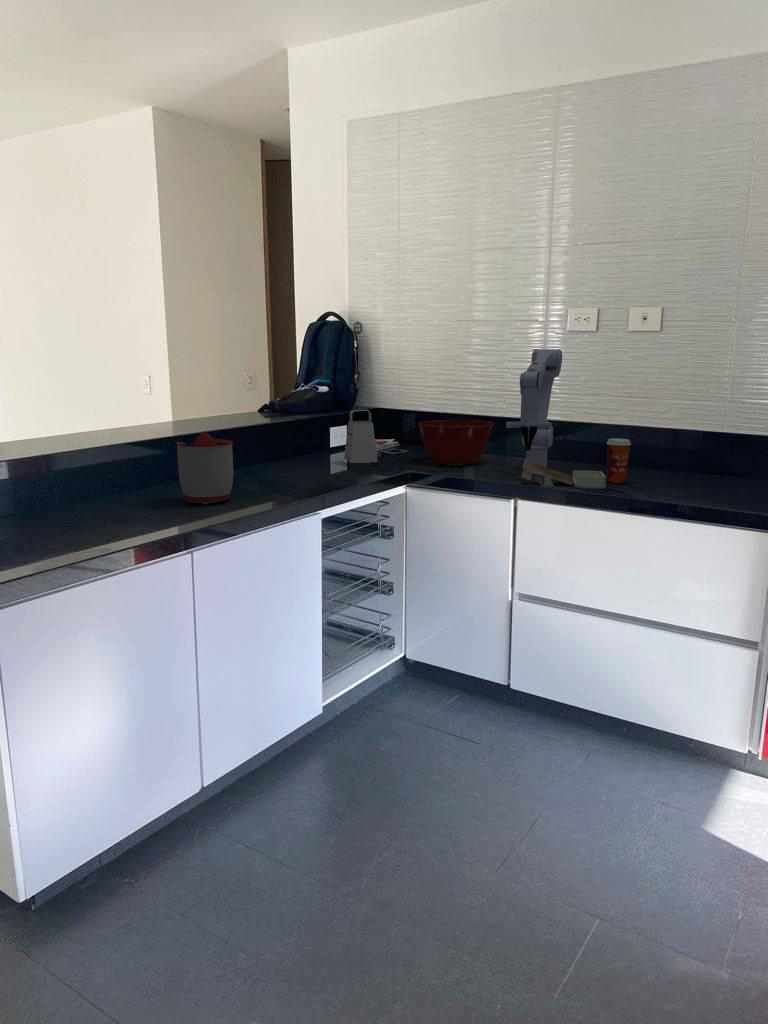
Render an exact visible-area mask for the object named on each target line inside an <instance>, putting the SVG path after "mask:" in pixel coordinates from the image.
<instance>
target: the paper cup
mask: <svg viewBox="0 0 768 1024" xmlns="http://www.w3.org/2000/svg"><path fill="white" fill-rule="evenodd" d="M606 445H607V447H606V451H607V453H606V456H607V457H606V482H607V481H608V482H612V483H611V484H614V483H623V484H625V482H626V477H627V471H628V464H629V455H630V449H631V448H630V447H631V445H632V443H631V441H630V439H627V438H608V439H607V442H606ZM608 482H607V483H608Z"/></svg>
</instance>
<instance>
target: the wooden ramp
mask: <svg viewBox="0 0 768 1024" xmlns="http://www.w3.org/2000/svg"><path fill="white" fill-rule="evenodd" d="M522 469H523V470H522V472H521V475H520V476H521V478H522V479H525V480H529V481H531V479H532V477H533V475H534V474H533V472H534V473H537V474H540V476H542V477H543V476H545V474H551V480H555V481H559V482H561V483H565V484H566V485H569V486H572V484H573V480H574V479H572V475H570V474H566V473H564V472H560V471H557V470H554V469H551V468H548V467H547V468H545V467H542V466H539V465H536V464H533V463H530V462H527V460H526V459H524V460H523V464H522Z"/></svg>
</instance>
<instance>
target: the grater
mask: <svg viewBox="0 0 768 1024" xmlns="http://www.w3.org/2000/svg"><path fill="white" fill-rule="evenodd" d="M365 411H367V412H368V420H353V414H354V413H355V412H365ZM375 436H376V435H375V430H374V422H372V412H371V411H370V410H368V409H355V410H354V409H353V410H351V411H350V412H349V421H348V422H347V431H346V440H345V448H344V455H343V456H344V457H343V460H344V459H346V460H347V461H349V462H350V463H370V462H378V463H379V461H378V453H377V446H376V438H375Z"/></svg>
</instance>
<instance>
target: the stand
mask: <svg viewBox="0 0 768 1024" xmlns="http://www.w3.org/2000/svg"><path fill="white" fill-rule="evenodd" d="M538 482H539V485H540V484H541V485H540V487H550V486H554V487H555V485H554V482H553V481H552V478H551V474H545V476H543V475H542V480H539V481H538Z"/></svg>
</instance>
